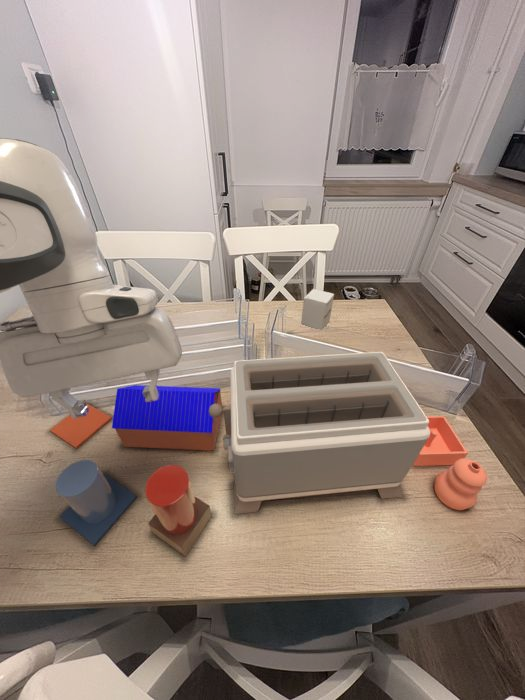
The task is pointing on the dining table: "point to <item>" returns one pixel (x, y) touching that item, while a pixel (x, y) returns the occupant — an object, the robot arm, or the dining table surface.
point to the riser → (187, 538)
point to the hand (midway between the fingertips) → (117, 407)
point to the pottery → (462, 476)
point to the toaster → (319, 427)
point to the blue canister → (86, 491)
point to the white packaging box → (317, 309)
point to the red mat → (80, 427)
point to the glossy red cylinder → (172, 499)
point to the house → (167, 418)
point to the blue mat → (100, 529)
